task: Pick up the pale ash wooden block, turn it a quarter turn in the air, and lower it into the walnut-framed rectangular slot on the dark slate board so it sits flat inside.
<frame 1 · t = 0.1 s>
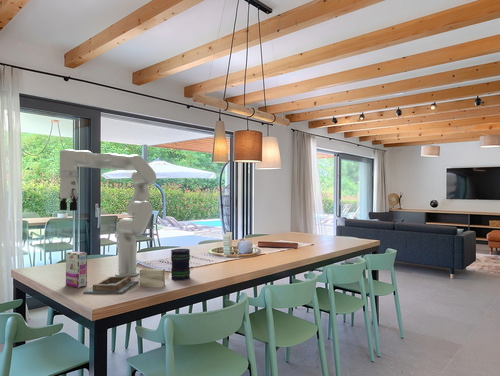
hand: (68, 210, 175), 37 cm above the table, tool pointing down, fingers open, 9 cm apart
slot board: (112, 287, 172), on the table
storage jar: (180, 278, 190), on the table
candy bar box: (76, 286, 177), on the table
ash block: (152, 286, 175), on the table
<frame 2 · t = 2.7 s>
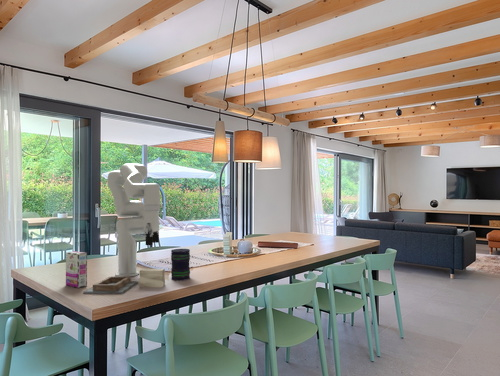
hand: (152, 243, 175), 21 cm above the table, tool pointing down, fingers open, 9 cm apart
nothing on the table moved.
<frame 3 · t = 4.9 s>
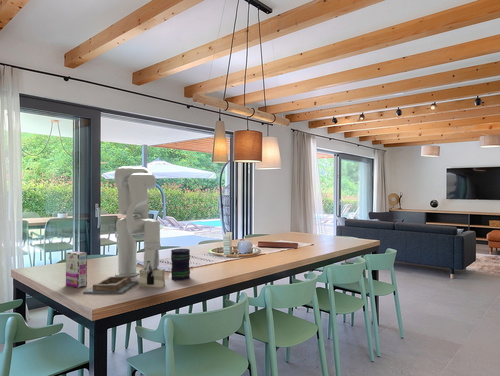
hand: (152, 282, 175), 2 cm above the table, tool pointing down, fingers closed on ash block, 4 cm apart
ash block: (152, 286, 175), on the table, touching gripper
everything else where it was.
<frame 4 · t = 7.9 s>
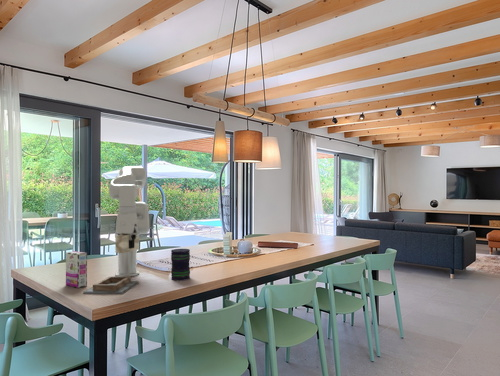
hand: (127, 247, 173), 19 cm above the table, tool pointing down, fingers closed on ash block, 4 cm apart
ash block: (127, 250, 173), point 17 cm above the table, touching gripper
everything else where it was.
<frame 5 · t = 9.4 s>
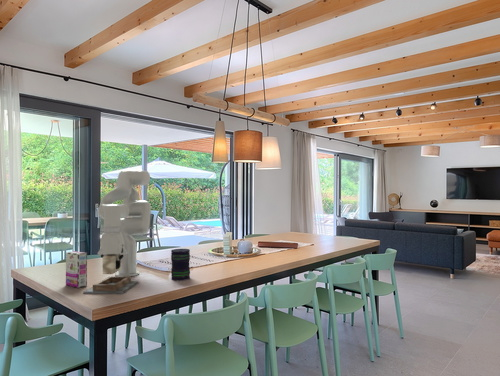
hand: (112, 268, 172), 9 cm above the table, tool pointing down, fingers closed on ash block, 4 cm apart
ash block: (112, 271, 172), point 8 cm above the table, touching gripper
everything else where it was.
when the fingers open (5 cm above the table, at t = 10.8 s): ash block drops 2 cm, resting on slot board.
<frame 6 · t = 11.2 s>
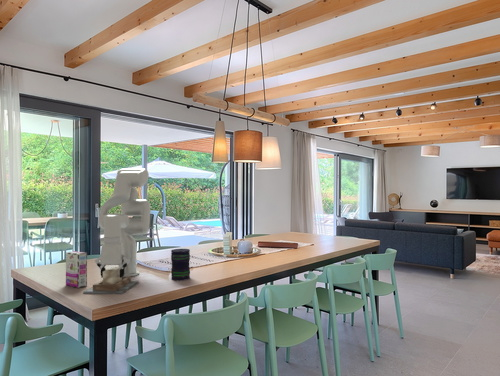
hand: (112, 276, 172), 5 cm above the table, tool pointing down, fingers open, 8 cm apart
ash block: (112, 285, 172), point 1 cm above the table, touching slot board
everything else where it was.
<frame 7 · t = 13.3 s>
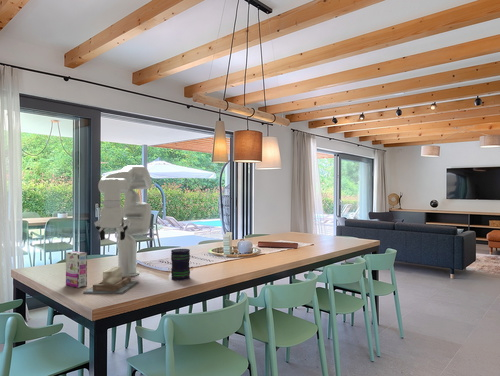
hand: (112, 239, 172), 23 cm above the table, tool pointing down, fingers open, 9 cm apart
nothing on the table moved.
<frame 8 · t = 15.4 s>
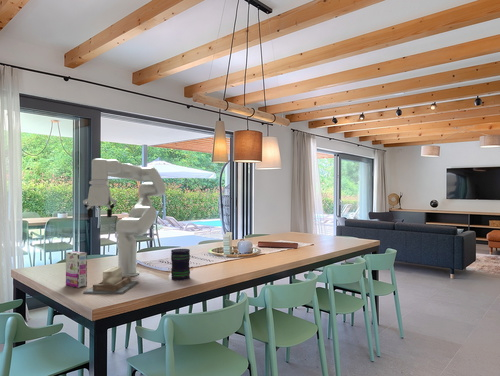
hand: (99, 217, 181), 33 cm above the table, tool pointing down, fingers open, 9 cm apart
nothing on the table moved.
at the end: ash block 0.0 cm off-centre on the slot board, point 1.0 cm above the slot board's base; ash block tilted 0°; the gripper is holding nothing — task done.
